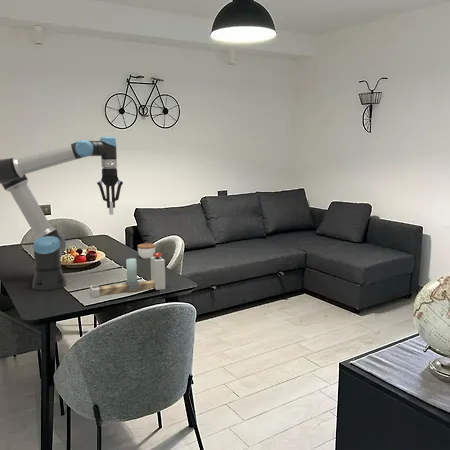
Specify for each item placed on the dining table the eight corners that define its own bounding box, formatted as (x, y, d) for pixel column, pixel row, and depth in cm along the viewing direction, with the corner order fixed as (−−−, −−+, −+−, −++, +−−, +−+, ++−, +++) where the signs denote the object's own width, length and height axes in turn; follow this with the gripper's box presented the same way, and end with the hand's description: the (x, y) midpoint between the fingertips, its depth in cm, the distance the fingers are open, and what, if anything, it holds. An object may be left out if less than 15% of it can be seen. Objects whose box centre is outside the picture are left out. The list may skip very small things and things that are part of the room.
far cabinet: (156, 290, 216) (155, 261, 213) (151, 284, 224) (150, 256, 221) (165, 288, 217) (164, 260, 215) (160, 283, 226) (159, 256, 223)
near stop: (92, 297, 205) (92, 288, 204) (90, 293, 211) (90, 284, 211) (99, 296, 206) (99, 287, 205) (97, 292, 212) (96, 283, 212)
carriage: (128, 289, 212) (127, 261, 209) (125, 286, 217) (124, 258, 215) (139, 288, 214) (138, 260, 211) (135, 284, 219) (135, 257, 217)
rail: (99, 295, 208) (99, 289, 207) (97, 293, 211) (97, 286, 211) (154, 288, 218) (154, 282, 217) (152, 286, 222) (152, 280, 221)
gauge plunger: (155, 277, 217) (154, 254, 215) (152, 275, 221) (152, 252, 219) (163, 276, 219) (162, 253, 217) (160, 274, 222) (160, 252, 221)
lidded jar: (147, 254, 287) (147, 240, 286) (159, 257, 280) (158, 242, 279) (134, 257, 279) (133, 242, 277) (145, 260, 272) (145, 245, 271)
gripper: (97, 168, 225) (99, 216, 229) (123, 168, 230) (125, 214, 234) (94, 167, 232) (97, 214, 236) (120, 167, 237) (122, 212, 241)
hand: (111, 214), depth 235 cm, fingers closed
